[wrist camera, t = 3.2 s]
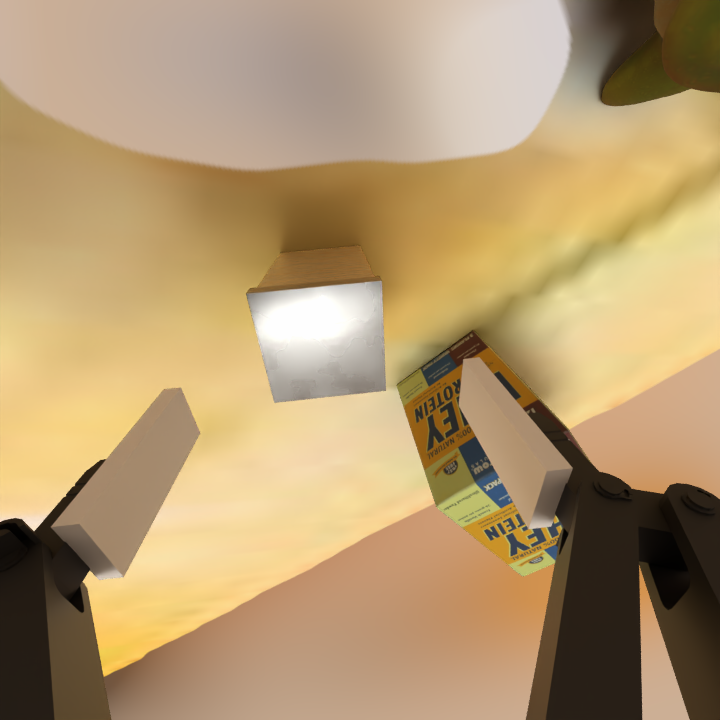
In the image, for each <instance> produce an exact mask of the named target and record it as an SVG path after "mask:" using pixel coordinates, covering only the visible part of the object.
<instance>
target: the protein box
mask: <svg viewBox="0 0 720 720" xmlns="http://www.w3.org/2000/svg"><path fill="white" fill-rule="evenodd" d="M478 357H480V359H481V360H482V361H483V362H484V363H485V365H486V366H487V367H488V368H489V369H490V370H491V372H492V373H493V374H494V375H495V376H496V378H497V379H498V380H499V381H500V382H501V384H502V385H503V386H504V387H505V388H506V389H507V391H508V392H509V393H510V394H511V395H512V397H513V398H514V399H515V400H516V401H517V403H518V404H519V405H520V406H521V407H522V408H523V410H524V411H525V412H526V413H535V412H539V413H541V414H542V415H544V416H546V417H547V418H549V419H550V420H552V421H553V422H554V423H555V424H556V425H557V427H558V428H559V429H560V430H561V432H563V433H564V434H565V435H566V436H567V437H568V440H569V441H571V442H572V443H573V444H574V445H575V446H576V447H577V448H578V449H579V450H580V451H581V453H582V454H583V455H584V456H585V457H586V458H587V459H588V457H587V456H586V454H585V453H584V452H583V450H582V449H581V447H580V446H579V444H578V443H577V441H576V440H575V438H574V437H573V435H572V434H571V432H570V431H569V429H568V428H567V427H566V426H565V425H564V424H563V423H562V422H561V421H560V419H559V418H558V417H557V416H556V415H555V414H554V413H553V412H552V411H551V410H550V409H549V408H548V407H547V406H546V405H545V404H544V403H543V402H542V401H541V400H540V399H539V398H538V396H537V395H536V394H535V393H534V392H533V391H532V390H531V389H530V388H529V387H528V386H527V385H526V384H525V383H524V382H523V381H522V380H521V379H520V378H519V377H518V376H517V374H516V373H515V372H514V371H513V370H512V369H511V368H510V367H509V366H508V365H507V364H506V363H505V362H504V361H503V360H502V359H501V358H500V357H499V356H498V355H497V354H496V353H495V352H494V351H493V350H492V349H491V348H490V347H489V346H488V345H487V344H486V343H485V342H484V341H483V340H482V339H481V338H480V336H479V335H478V334H477V333H476V332H475V331H472V332H471V333H469V334H468V335H467V336H465V337H464V338H463V339H461V340H460V341H458V342H457V343H456V344H454V345H453V346H451V347H450V348H449V349H447V350H446V351H444V352H443V353H441V354H440V355H439V356H437V357H436V358H434V359H433V360H432V361H430V362H429V363H427V364H426V365H424V366H423V367H422V368H420V369H419V370H418V371H416V372H415V373H413V374H412V375H411V376H409V377H408V378H406V379H405V380H404V381H402V382H401V383H399V384H398V385H397V388H398V391H399V394H400V398H401V401H402V404H403V407H404V410H405V413H406V416H407V419H408V422H409V425H410V428H411V431H412V434H413V437H414V440H415V443H416V446H417V449H418V453H419V455H420V458H421V462H422V465H423V468H424V471H425V474H426V477H427V480H428V483H429V486H430V489H431V492H432V495H433V498H434V501H435V504H436V507H437V508H438V509H439V510H440V511H441V512H443V513H444V514H445V515H446V516H448V517H449V518H450V519H452V520H453V521H454V522H455V523H457V524H458V525H459V526H461V527H462V528H463V529H464V530H466V531H467V532H468V533H469V534H470V535H472V536H473V537H474V538H475V539H476V540H478V541H479V542H480V543H481V544H483V545H484V546H485V547H486V548H488V549H489V550H490V551H491V552H493V553H494V554H495V555H496V556H498V557H499V558H500V559H501V560H503V561H504V562H505V563H506V564H508V565H509V566H510V567H511V568H512V569H514V570H515V571H516V572H517V573H519V574H520V575H521V576H526V575H528V574H531V573H533V572H535V571H538V570H540V569H542V568H544V567H547V566H549V565H551V564H554V563H555V561H556V556H557V550H558V547H557V546H555V545H556V543H557V540H558V538H559V535H560V533H561V530H562V528H563V525H562V524H561V522H560V521H559V519H558V518H557V516H556V515H555V518H554V520H553V523H552V526H551V527H543V528H535V529H528V527H527V526H526V524H525V522H524V520H523V519H522V517H521V515H520V513H519V512H518V510H517V508H516V506H515V504H514V503H513V501H512V499H511V497H510V496H509V494H508V492H507V490H506V489H505V487H504V485H503V483H502V481H501V480H500V478H499V476H498V474H497V473H496V471H495V469H494V467H493V466H492V464H491V462H490V460H489V458H488V457H487V455H486V453H485V451H484V450H483V448H482V446H481V444H480V443H479V441H478V439H477V437H476V436H475V434H474V432H473V430H472V428H471V427H470V425H469V423H468V421H467V420H466V418H465V416H464V414H463V413H462V411H461V409H460V407H459V398H460V388H461V378H462V368H463V359H469V358H478ZM588 460H589V459H588ZM589 461H590V460H589Z"/></svg>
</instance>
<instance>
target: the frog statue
mask: <svg viewBox="0 0 720 720" xmlns="http://www.w3.org/2000/svg"><path fill="white" fill-rule="evenodd" d="M654 23H655V27H656V29H657V31H656V32H655V33H654V34H653V35H652V36H651V37H650V38H649V39H648V40H647V41H646V42H645V43H644V44H642V45H641V46H640V47H639V48H638V49H637V50H636V51H635V52H634V53H633V54H632V55H631V56H630V57H628V58H627V59H626V60H625V61H624V62H623V63H622V64H621V65H620V66H619V67H618V69H617V70H616V71H615V72H614V73H613V74H612V76H611V77H610V79H609V80H608V81H607V83H606V85H605V86H604V89H603V92H602V102H603V103H604V104H606V105H610V106H624V105H632V104H638V103H642V102H646V101H650V100H654V99H659V98H662V97H667V96H671V95H674V94H677V93H681V92H683V91H686V90H689V89H695V90H700V91H707V92H717V93H720V0H655V7H654Z"/></svg>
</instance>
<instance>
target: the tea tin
mask: <svg viewBox="0 0 720 720" xmlns="http://www.w3.org/2000/svg"><path fill="white" fill-rule="evenodd" d="M246 295H247V299H248V303H249V307H250V311H251V314H252V318H253V322H254V326H255V330H256V334H257V338H258V341H259V345H260V349H261V353H262V357H263V361H264V364H265V368H266V372H267V376H268V380H269V384H270V387H271V391H272V395H273V399H274V403H276V402H286V401H295V400H304V399H313V398H322V397H332V396H341V395H350V394H359V393H368V392H378V391H386V379H385V353H384V326H383V299H382V280H381V278H380V276H375V277H374V274H373V272H372V270H371V268H370V266H369V264H368V262H367V259H366V257H365V255H364V253H363V251H362V249H361V247H360V245H359V246H348V247H337V248H326V249H315V250H304V251H293V252H282V253H280V254H279V256H278V257H277V259H276V260H275V262H274V263H273V265H272V266H271V268H270V269H269V271H268V272H267V274H266V275H265V277H264V278H263V279H262V281H261V282H260V284H259V285H258V287H257V288H250V289H249V291H248V292H247V293H246Z"/></svg>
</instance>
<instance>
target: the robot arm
mask: <svg viewBox="0 0 720 720" xmlns="http://www.w3.org/2000/svg"><path fill="white" fill-rule="evenodd" d="M459 407H460V409H461V411H462V413H463V414H464V416H465V418H466V420H467V421H468V423H469V425H470V427H471V428H472V430H473V432H474V434H475V436H476V437H477V439H478V441H479V443H480V444H481V446H482V448H483V450H484V451H485V453H486V455H487V457H488V458H489V460H490V462H491V464H492V466H493V467H494V469H495V471H496V473H497V474H498V476H499V478H500V480H501V481H502V483H503V485H504V487H505V489H506V490H507V492H508V494H509V496H510V497H511V499H512V501H513V503H514V504H515V506H516V508H517V510H518V512H519V513H520V515H521V517H522V519H523V520H524V522H525V524H526V526H527V527H528V529H535V528H543V527H551V526H552V523H553V520H554V518H555V515H556V516H557V518H558V519H559V521H560V522H561V524H562V525H563V528H562V530H561V533H560V535H559V538H558V540H557V543H556V545H555V546H557V547H558V550H557V556H556V561H555V567H554V572H553V577H552V583H551V588H550V593H549V598H548V604H547V609H546V615H545V621H544V626H543V631H542V636H541V641H540V648H539V652H538V658H537V663H536V668H535V674H534V679H533V684H532V690H531V695H530V700H529V706H528V711H527V717H526V720H642V684H641V636H640V592H639V591H640V589H639V565H640V568H641V571H642V575H643V577H644V581H645V584H646V587H647V590H648V593H649V596H650V599H651V602H652V605H653V608H654V611H655V614H656V618H657V620H658V624H659V627H660V630H661V633H662V636H663V639H664V642H665V645H666V648H667V651H668V654H669V657H670V660H671V663H672V666H673V670H674V673H675V676H676V679H677V682H678V685H679V688H680V691H681V694H682V697H683V700H684V703H685V706H686V710H687V712H688V716H689V719H690V720H720V499H718V498H717V497H716V496H714V495H713V494H711V493H709V492H707V491H705V490H703V489H701V488H698V487H695V486H692V485H689V484H680V483H676V484H672V485H670V486H669V487H668V488H667V490H666V491H665V493H664V494H660V493H654V492H647V491H641V490H635V489H631V487H630V486H629V485H628V484H626V483H625V482H623V481H622V480H621V479H619V478H617V477H615V476H612V475H610V474H607V473H603V472H599V471H598V470H597V469H596V468H595V467H594V466H593V464H592V463H591V462H590V461H589V460H588V459H587V458H586V457H585V456H584V455H583V454H582V453H581V451H580V450H579V449H578V448H577V447H576V446H575V445H574V444H573V443H572V442H571V441H569V440H568V437H567V436H566V435H565V434H564V433H563V432H561V430H560V429H559V428H558V427H557V425H556V424H555V423H554V422H553V421H552V420H550V419H549V418H547V417H546V416H544V415H542V414H541V413H539V412H535V413H526V412H525V411H524V410H523V408H522V407H521V406H520V405H519V404H518V403H517V401H516V400H515V399H514V398H513V397H512V395H511V394H510V393H509V392H508V391H507V389H506V388H505V387H504V386H503V385H502V384H501V382H500V381H499V380H498V379H497V378H496V376H495V375H494V374H493V373H492V372H491V370H490V369H489V368H488V367H487V366H486V365H485V363H484V362H483V361H482V360H481V359H480V357H478V358H469V359H463V368H462V378H461V388H460V398H459ZM199 434H200V431H199V429H198V427H197V424H196V422H195V420H194V417H193V415H192V413H191V410H190V408H189V406H188V403H187V401H186V399H185V396H184V394H183V392H182V389H181V388H172V389H164V390H163V391H162V392H161V393H160V395H159V396H158V397H157V398H156V400H155V401H154V402H153V403H152V404H151V406H150V407H149V408H148V409H147V410H146V412H145V413H144V414H143V415H142V417H141V418H140V419H139V420H138V421H137V423H136V424H135V425H134V426H133V428H132V429H131V430H130V431H129V432H128V434H127V435H126V436H125V437H124V438H123V440H122V441H121V442H120V443H119V445H118V446H117V447H116V448H115V449H114V451H113V452H112V453H111V454H110V456H109V457H108V458H107V459H104V460H100V461H99V462H97V463H96V464H95V465H94V466H92V467H91V468H90V469H88V470H87V471H86V472H85V473H84V474H83V475H82V477H81V478H80V479H79V480H78V481H77V482H76V484H75V486H73V487H72V488H71V489H70V491H69V492H68V493H67V494H66V497H64V498H63V499H62V500H61V501H60V502H59V503H58V505H57V506H56V507H55V508H54V509H53V510H52V512H51V513H50V514H49V515H48V516H47V517H46V519H45V520H44V521H43V522H42V523H41V524H40V526H39V527H38V528H37V529H36V530H35V531H33V530H32V529H31V528H30V527H29V526H28V525H27V524H26V523H25V522H24V521H23V520H22V519H17V518H13V519H8V520H4V521H2V522H0V720H111V715H110V710H109V705H108V699H107V693H106V688H105V683H104V677H103V672H102V666H101V661H100V655H99V650H98V645H97V639H96V634H95V628H94V623H93V617H92V612H91V606H90V601H89V596H88V590H87V587H86V586H85V584H84V583H83V582H82V581H83V580H84V578H85V577H86V575H87V573H88V572H89V570H90V571H91V572H92V573H93V574H94V575H95V576H96V577H97V578H98V579H99V580H103V579H112V578H120V577H124V575H125V574H126V572H127V570H128V568H129V566H130V564H131V562H132V560H133V558H134V557H135V555H136V553H137V551H138V549H139V547H140V545H141V543H142V542H143V540H144V538H145V536H146V534H147V532H148V530H149V528H150V527H151V525H152V523H153V521H154V519H155V517H156V515H157V513H158V511H159V510H160V508H161V506H162V504H163V502H164V500H165V498H166V496H167V495H168V493H169V491H170V489H171V487H172V485H173V483H174V481H175V480H176V478H177V476H178V474H179V472H180V470H181V468H182V466H183V464H184V463H185V461H186V459H187V457H188V455H189V453H190V451H191V449H192V448H193V446H194V444H195V442H196V440H197V438H198V436H199Z"/></svg>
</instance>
